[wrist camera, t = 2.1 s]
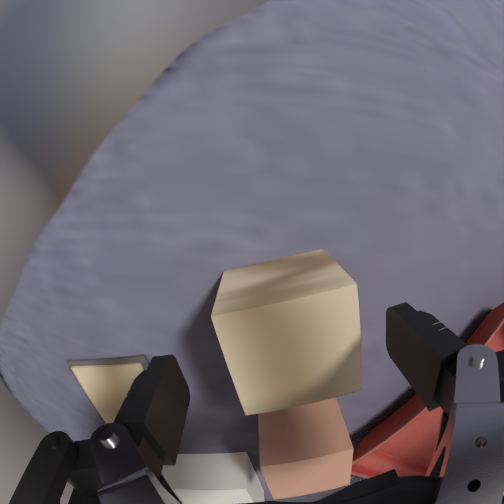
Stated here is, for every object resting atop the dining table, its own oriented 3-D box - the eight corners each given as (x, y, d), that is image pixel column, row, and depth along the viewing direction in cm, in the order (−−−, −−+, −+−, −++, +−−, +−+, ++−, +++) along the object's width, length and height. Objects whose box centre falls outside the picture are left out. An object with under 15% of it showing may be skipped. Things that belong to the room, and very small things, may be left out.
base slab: (246, 448, 18) (245, 489, 14) (263, 488, 20) (264, 520, 16) (153, 450, 18) (143, 485, 14) (186, 490, 20) (181, 519, 16)
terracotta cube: (333, 391, 16) (353, 448, 11) (335, 434, 17) (349, 484, 13) (258, 406, 16) (259, 466, 12) (270, 447, 18) (273, 499, 13)
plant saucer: (527, 365, 18) (542, 379, 14) (417, 472, 21) (426, 490, 18) (496, 273, 15) (525, 288, 11) (329, 440, 18) (338, 471, 15)
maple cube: (322, 248, 14) (356, 283, 9) (333, 332, 15) (361, 389, 10) (224, 270, 14) (210, 316, 9) (247, 352, 15) (245, 415, 10)
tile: (144, 354, 15) (142, 358, 15) (183, 427, 17) (182, 431, 17) (67, 360, 16) (64, 363, 15) (109, 426, 17) (107, 429, 17)
